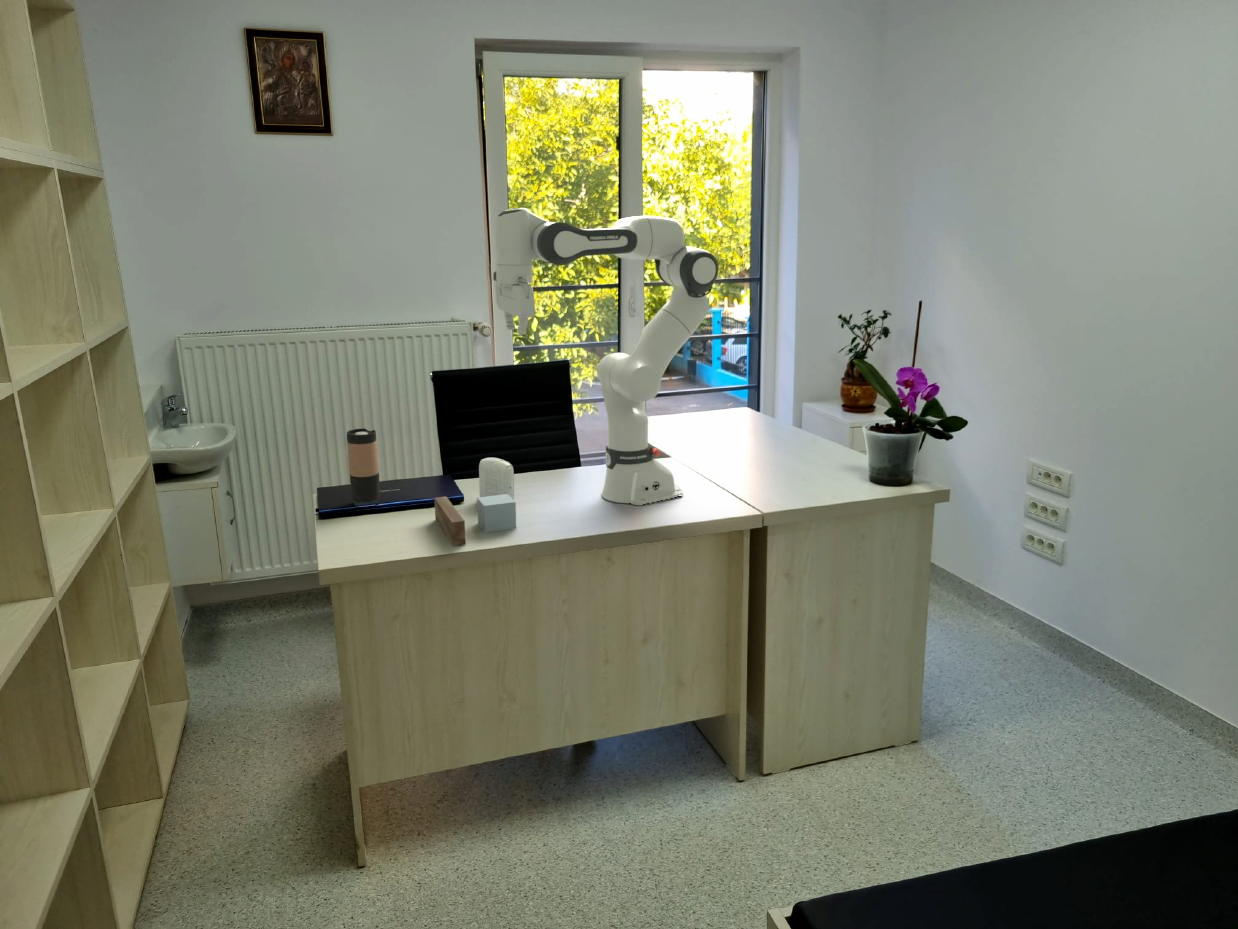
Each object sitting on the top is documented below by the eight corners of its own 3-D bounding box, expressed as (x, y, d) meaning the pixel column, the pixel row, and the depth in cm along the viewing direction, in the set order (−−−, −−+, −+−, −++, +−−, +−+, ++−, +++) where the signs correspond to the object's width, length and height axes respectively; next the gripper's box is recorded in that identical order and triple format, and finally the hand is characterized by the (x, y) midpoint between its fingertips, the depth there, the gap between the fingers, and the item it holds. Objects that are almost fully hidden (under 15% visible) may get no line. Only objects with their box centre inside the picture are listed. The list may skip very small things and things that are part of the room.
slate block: (508, 519, 242) (507, 493, 240) (516, 528, 236) (515, 502, 234) (478, 523, 239) (477, 497, 237) (485, 532, 233) (484, 505, 231)
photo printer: (516, 503, 254) (515, 459, 251) (506, 507, 251) (505, 463, 247) (488, 496, 260) (486, 453, 256) (477, 501, 256) (475, 457, 253)
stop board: (447, 518, 242) (446, 496, 241) (465, 544, 225) (464, 520, 223) (435, 519, 241) (434, 497, 240) (453, 546, 224) (452, 522, 222)
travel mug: (353, 509, 249) (347, 436, 243) (350, 501, 256) (344, 429, 250) (383, 506, 252) (378, 433, 246) (378, 497, 258) (373, 427, 253)
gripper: (540, 278, 225) (542, 336, 228) (514, 272, 243) (515, 326, 246) (515, 279, 222) (517, 338, 226) (490, 273, 240) (492, 327, 244)
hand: (516, 331), depth 236 cm, fingers open, 8 cm apart
